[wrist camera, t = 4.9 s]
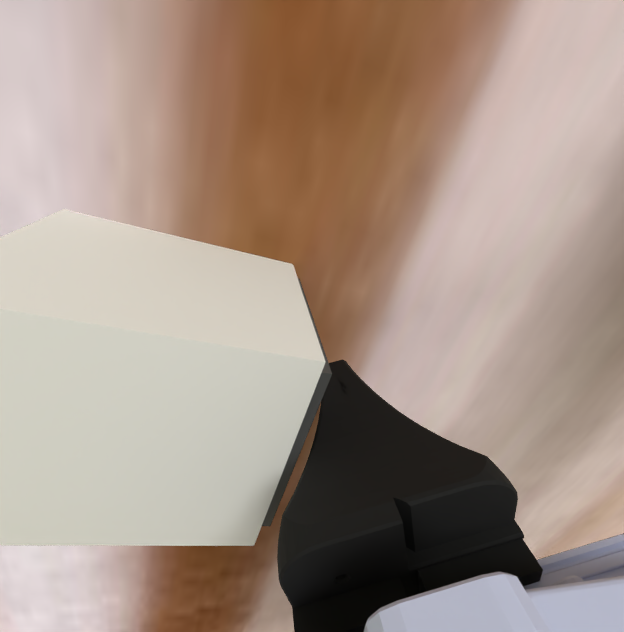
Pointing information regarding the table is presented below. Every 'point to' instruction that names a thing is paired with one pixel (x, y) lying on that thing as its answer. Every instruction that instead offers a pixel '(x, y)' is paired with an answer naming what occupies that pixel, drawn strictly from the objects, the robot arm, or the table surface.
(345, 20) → the table surface
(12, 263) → the white block
